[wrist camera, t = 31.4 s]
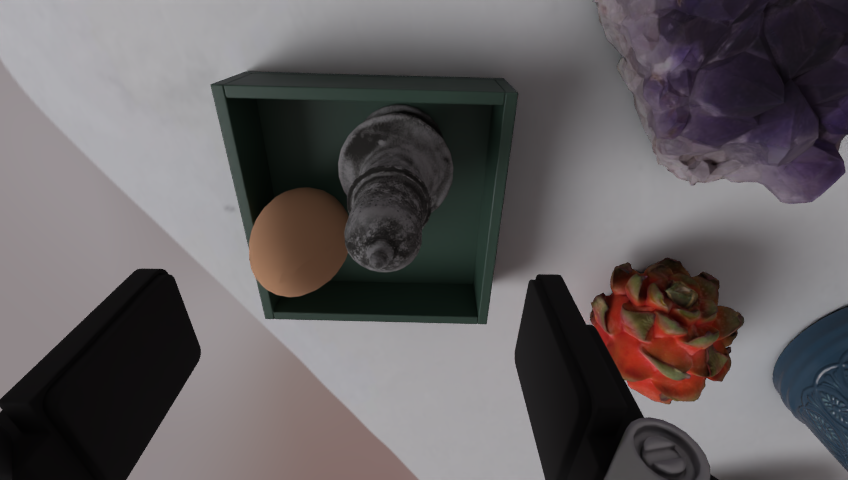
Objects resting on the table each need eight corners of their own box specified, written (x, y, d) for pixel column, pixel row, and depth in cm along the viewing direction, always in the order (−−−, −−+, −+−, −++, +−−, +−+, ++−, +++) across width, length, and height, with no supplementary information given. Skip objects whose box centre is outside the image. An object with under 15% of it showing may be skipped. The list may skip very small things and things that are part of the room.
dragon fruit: (611, 214, 28) (644, 311, 34) (540, 305, 26) (590, 390, 32) (762, 244, 21) (767, 358, 28) (682, 372, 19) (708, 462, 26)
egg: (264, 180, 24) (200, 248, 18) (343, 161, 24) (309, 224, 17) (297, 250, 27) (253, 333, 20) (370, 234, 26) (350, 314, 19)
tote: (285, 281, 29) (265, 319, 26) (244, 71, 22) (209, 84, 18) (479, 285, 29) (486, 324, 26) (504, 78, 22) (518, 92, 18)
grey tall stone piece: (439, 203, 25) (447, 343, 15) (346, 188, 25) (286, 321, 14) (460, 109, 22) (487, 201, 12) (354, 89, 22) (286, 167, 11)
